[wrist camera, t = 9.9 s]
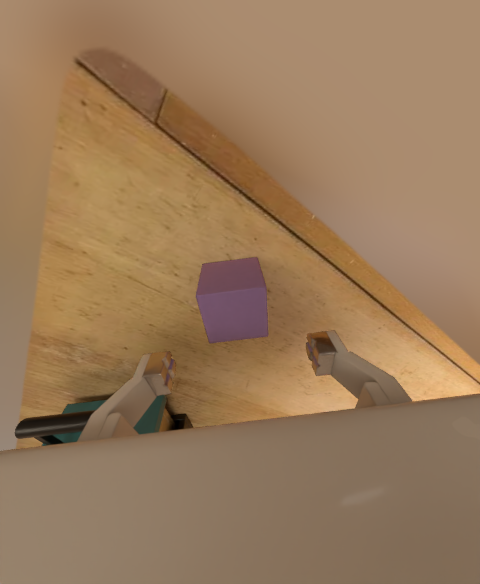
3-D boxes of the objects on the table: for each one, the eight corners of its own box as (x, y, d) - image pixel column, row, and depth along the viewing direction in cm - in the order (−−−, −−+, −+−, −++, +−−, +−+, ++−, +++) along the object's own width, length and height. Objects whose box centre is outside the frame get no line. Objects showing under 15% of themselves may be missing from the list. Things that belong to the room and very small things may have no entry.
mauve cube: (202, 263, 16) (195, 295, 13) (257, 256, 16) (266, 286, 12) (212, 306, 19) (209, 343, 15) (260, 300, 19) (268, 336, 15)
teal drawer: (34, 375, 21) (-49, 472, 15) (146, 362, 21) (111, 454, 15) (117, 447, 32) (90, 520, 26) (191, 439, 32) (183, 510, 26)
